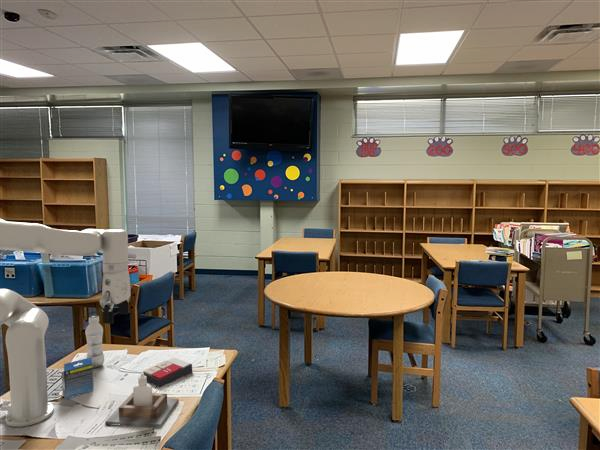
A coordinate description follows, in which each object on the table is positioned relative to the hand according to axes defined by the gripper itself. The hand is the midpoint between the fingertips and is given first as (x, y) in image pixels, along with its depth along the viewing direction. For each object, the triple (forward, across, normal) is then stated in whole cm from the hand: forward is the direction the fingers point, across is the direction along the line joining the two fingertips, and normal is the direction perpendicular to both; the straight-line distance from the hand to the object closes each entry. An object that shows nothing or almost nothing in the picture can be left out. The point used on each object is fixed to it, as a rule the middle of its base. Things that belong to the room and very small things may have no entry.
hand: (116, 318), depth 135 cm
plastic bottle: (+28, +24, +22) cm, 43 cm away
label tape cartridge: (+28, +3, +16) cm, 33 cm away
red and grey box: (+28, +19, -9) cm, 36 cm away
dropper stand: (+28, -6, -12) cm, 31 cm away
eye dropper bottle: (+27, -6, -12) cm, 30 cm away
